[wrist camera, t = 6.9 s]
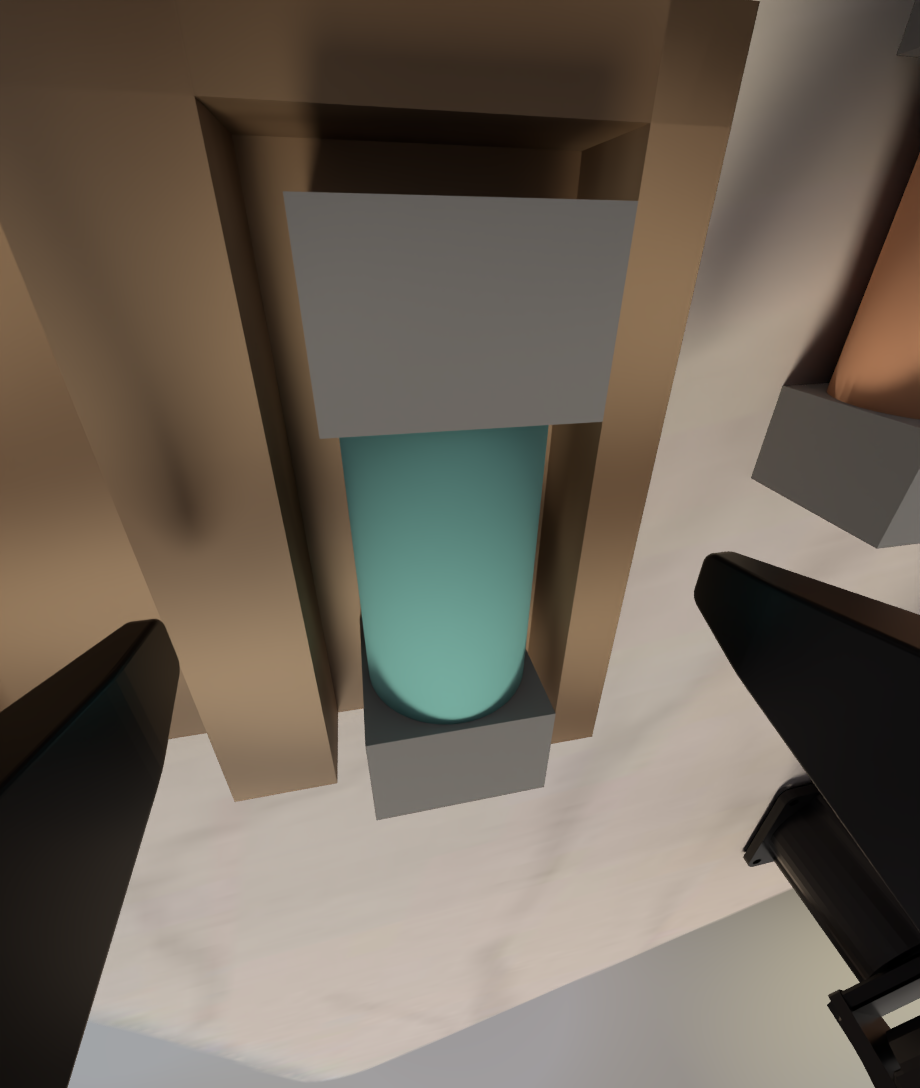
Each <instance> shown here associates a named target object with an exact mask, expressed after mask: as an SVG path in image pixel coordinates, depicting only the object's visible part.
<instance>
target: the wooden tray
mask: <svg viewBox="0 0 920 1088" xmlns="http://www.w3.org/2000/svg"><path fill="white" fill-rule="evenodd" d="M759 3H760V1H753V0H0V712H1V711H3V710H4V709H5V708H7V707H8V706H10V705H11V704H12V703H14V702H15V701H17V700H18V699H19V698H21V697H22V696H24V695H25V694H27V693H28V692H29V691H31V690H32V689H34V688H35V687H36V686H38V685H39V684H41V683H42V682H44V681H45V680H46V679H48V678H49V677H51V676H52V675H53V674H55V673H56V672H58V671H59V670H60V669H62V668H63V667H65V666H66V665H68V664H69V663H70V662H72V661H73V660H75V659H76V658H77V657H79V656H80V655H82V654H83V653H85V652H86V651H87V650H89V649H90V648H92V647H93V646H94V645H96V644H97V643H99V642H100V641H101V640H103V639H104V638H106V637H107V636H109V635H110V634H111V633H113V632H114V631H116V630H117V629H118V628H120V627H121V626H123V625H124V624H126V623H128V622H131V621H138V620H147V619H158V620H161V621H162V622H163V623H164V625H165V627H166V629H167V632H168V634H169V637H170V639H171V642H172V644H173V647H174V649H175V651H176V654H177V656H178V659H179V664H180V675H179V681H178V687H177V693H176V698H175V704H174V710H173V715H172V721H171V727H170V732H169V738H168V739H172V738H178V737H185V736H191V735H197V734H204V733H207V734H208V737H209V739H210V742H211V744H212V747H213V749H214V752H215V754H216V757H217V759H218V762H219V764H220V766H221V769H222V771H223V774H224V776H225V779H226V781H227V784H228V786H229V789H230V791H231V794H232V796H233V799H234V801H235V802H237V801H242V800H248V799H253V798H259V797H264V796H269V795H275V794H280V793H286V792H291V791H297V790H302V789H308V788H313V787H319V786H324V785H330V784H335V783H337V763H338V712H343V711H349V710H356V709H362V708H364V703H363V682H362V660H361V639H360V618H362V613H361V606H360V598H359V590H358V582H357V574H356V566H355V558H354V551H353V543H352V535H351V527H350V519H349V511H348V504H347V496H346V488H345V480H344V472H343V464H342V457H341V449H340V441H339V438H326V439H320V437H319V431H318V424H317V417H316V411H315V404H314V397H313V391H312V384H311V377H310V370H309V364H308V357H307V350H306V344H305V337H304V330H303V323H302V317H301V310H300V303H299V297H298V290H297V283H296V277H295V270H294V263H293V256H292V250H291V243H290V236H289V230H288V223H287V216H286V209H285V203H284V196H283V191H290V192H327V193H364V194H401V195H438V196H475V197H512V198H548V199H585V200H622V201H638V206H637V212H636V218H635V225H634V231H633V237H632V243H631V249H630V256H629V262H628V268H627V274H626V280H625V287H624V293H623V299H622V305H621V311H620V318H619V324H618V330H617V336H616V342H615V349H614V355H613V361H612V367H611V373H610V380H609V386H608V392H607V398H606V404H605V411H604V417H603V422H591V423H574V424H558V425H549V426H548V436H547V446H546V455H545V465H544V475H543V484H542V494H541V504H540V514H539V523H538V533H537V543H536V553H535V562H534V572H533V582H532V591H531V601H530V611H529V621H528V630H527V640H526V650H527V652H528V655H529V657H530V659H531V661H532V663H533V665H534V668H535V670H536V672H537V674H538V676H539V679H540V681H541V683H542V685H543V687H544V689H545V692H546V694H547V696H548V698H549V700H550V702H551V705H552V707H553V709H554V711H555V713H556V714H555V721H554V727H553V733H552V739H551V744H553V743H559V742H564V741H570V740H575V739H581V738H586V737H592V734H593V729H594V725H595V721H596V716H597V712H598V708H599V703H600V699H601V694H602V690H603V686H604V681H605V677H606V673H607V668H608V664H609V659H610V655H611V651H612V646H613V642H614V638H615V633H616V629H617V624H618V620H619V616H620V611H621V607H622V602H623V598H624V594H625V589H626V585H627V581H628V576H629V572H630V567H631V563H632V559H633V554H634V550H635V546H636V541H637V537H638V532H639V528H640V524H641V519H642V515H643V511H644V506H645V502H646V497H647V493H648V489H649V484H650V480H651V475H652V471H653V467H654V462H655V458H656V454H657V449H658V445H659V440H660V436H661V432H662V427H663V423H664V419H665V414H666V410H667V405H668V401H669V397H670V392H671V388H672V384H673V379H674V375H675V370H676V366H677V362H678V357H679V353H680V348H681V344H682V340H683V335H684V331H685V327H686V322H687V318H688V313H689V309H690V305H691V300H692V296H693V292H694V287H695V283H696V278H697V274H698V270H699V265H700V261H701V257H702V252H703V248H704V243H705V239H706V235H707V230H708V226H709V221H710V217H711V213H712V208H713V204H714V200H715V195H716V191H717V186H718V182H719V178H720V173H721V169H722V165H723V160H724V156H725V151H726V147H727V143H728V138H729V134H730V130H731V125H732V121H733V116H734V112H735V108H736V103H737V99H738V94H739V90H740V86H741V81H742V77H743V73H744V68H745V64H746V59H747V55H748V51H749V46H750V42H751V38H752V33H753V29H754V24H755V20H756V16H757V11H758V7H759Z"/></svg>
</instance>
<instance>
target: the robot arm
mask: <svg viewBox="0 0 920 1088" xmlns="http://www.w3.org/2000/svg"><path fill="white" fill-rule="evenodd" d="M694 599H695V602H696V605H697V606H698V608H699V610H700V612H701V613H702V615H703V617H704V619H705V620H706V622H707V624H708V626H709V627H710V629H711V631H712V633H713V634H714V636H715V638H716V639H717V641H718V643H719V645H720V646H721V648H722V650H723V652H724V653H725V655H726V657H727V659H728V660H729V662H730V664H731V665H732V667H733V669H734V670H735V672H736V674H737V675H738V677H739V678H740V680H741V681H742V683H743V684H744V686H745V687H746V688H747V690H748V691H749V693H750V694H751V695H752V697H753V698H754V700H755V701H756V702H757V704H758V705H759V707H760V708H761V710H762V711H763V712H764V714H765V715H766V717H767V718H768V719H769V721H770V722H771V724H772V725H773V726H774V728H775V729H776V731H777V732H778V733H779V735H780V736H781V738H782V739H783V741H784V742H785V743H786V745H787V746H788V748H789V749H790V750H791V752H792V753H793V755H794V756H795V757H796V759H797V760H798V762H799V763H800V764H801V766H802V767H803V769H804V770H805V771H806V773H807V774H808V776H809V777H810V779H811V780H812V781H813V783H814V784H811V785H807V786H802V787H797V788H793V789H789V790H787V791H785V792H783V793H782V794H781V795H780V796H779V798H778V799H777V801H776V803H775V804H774V806H773V808H772V809H771V811H770V813H769V814H768V816H767V818H766V819H765V821H764V823H763V824H762V826H761V828H760V829H759V831H758V833H757V834H756V836H755V838H754V839H753V841H752V843H751V844H750V846H749V848H748V849H747V851H746V853H745V855H744V857H743V858H744V859H745V861H746V863H747V864H748V866H750V867H753V866H757V865H761V864H765V863H769V862H773V861H774V862H775V863H776V864H777V866H778V867H779V869H780V870H781V871H782V873H783V874H784V876H785V877H786V879H787V880H788V881H789V883H790V884H791V886H792V887H793V888H794V890H795V891H796V893H797V894H798V896H799V897H800V898H801V900H802V901H803V903H804V904H805V905H806V907H807V908H808V910H809V911H810V913H811V914H812V915H813V917H814V918H815V920H816V921H817V922H818V924H819V925H820V927H821V928H822V930H823V931H824V932H825V934H826V935H827V936H828V938H829V939H830V941H831V942H832V944H833V945H834V946H835V948H836V949H837V951H838V952H839V954H840V955H841V956H842V958H843V959H844V961H845V962H846V963H847V965H848V966H849V968H850V969H851V971H852V972H853V973H854V974H855V976H856V978H857V979H858V981H859V982H860V983H858V984H856V985H854V986H853V987H850V988H848V989H846V990H844V991H842V990H837V991H835V992H833V993H831V994H829V995H828V996H829V998H830V1000H831V1002H830V1003H829V1004H828V1005H827V1006H828V1007H829V1009H830V1011H831V1012H832V1014H833V1015H834V1017H835V1019H836V1020H837V1022H838V1023H839V1025H840V1026H841V1028H842V1029H843V1031H844V1032H845V1034H846V1036H847V1037H848V1039H849V1041H850V1042H851V1043H852V1045H853V1047H854V1049H855V1050H856V1052H857V1054H858V1056H859V1057H860V1059H861V1061H862V1063H863V1065H864V1067H865V1069H866V1071H867V1072H868V1075H869V1076H870V1079H871V1081H872V1083H873V1085H874V1087H875V1088H920V1016H917V1017H915V1018H913V1019H911V1020H909V1021H907V1022H905V1023H902V1024H900V1025H898V1026H896V1027H894V1028H892V1029H890V1027H889V1026H888V1025H887V1023H886V1022H885V1021H884V1019H883V1018H882V1016H884V1015H886V1014H888V1013H890V1012H892V1011H894V1010H896V1009H898V1008H900V1007H902V1006H904V1005H906V1004H909V1003H911V1002H913V1001H915V1000H917V999H919V998H920V615H918V614H915V613H912V612H909V611H906V610H904V609H901V608H898V607H895V606H892V605H889V604H886V603H883V602H880V601H877V600H874V599H871V598H868V597H865V596H862V595H859V594H856V593H853V592H850V591H847V590H844V589H841V588H838V587H836V586H833V585H830V584H827V583H824V582H821V581H818V580H815V579H812V578H809V577H806V576H803V575H800V574H797V573H794V572H791V571H788V570H785V569H782V568H779V567H776V566H773V565H771V564H768V563H765V562H762V561H759V560H756V559H753V558H750V557H747V556H744V555H741V554H738V553H735V552H729V551H728V552H719V553H712V554H709V555H708V556H707V557H706V558H705V559H704V561H703V564H702V567H701V571H700V574H699V577H698V580H697V583H696V586H695V590H694ZM179 675H180V664H179V659H178V656H177V654H176V651H175V649H174V647H173V644H172V642H171V639H170V637H169V634H168V632H167V629H166V627H165V625H164V623H163V622H162V621H161V620H158V619H147V620H138V621H131V622H128V623H126V624H124V625H123V626H121V627H120V628H118V629H117V630H116V631H114V632H113V633H111V634H110V635H109V636H107V637H106V638H104V639H103V640H101V641H100V642H99V643H97V644H96V645H94V646H93V647H92V648H90V649H89V650H87V651H86V652H85V653H83V654H82V655H80V656H79V657H77V658H76V659H75V660H73V661H72V662H70V663H69V664H68V665H66V666H65V667H63V668H62V669H60V670H59V671H58V672H56V673H55V674H53V675H52V676H51V677H49V678H48V679H46V680H45V681H44V682H42V683H41V684H39V685H38V686H36V687H35V688H34V689H32V690H31V691H29V692H28V693H27V694H25V695H24V696H22V697H21V698H19V699H18V700H17V701H15V702H14V703H12V704H11V705H10V706H8V707H7V708H5V709H4V710H3V711H1V712H0V1088H67V1087H68V1084H69V1081H70V1077H71V1074H72V1071H73V1067H74V1064H75V1061H76V1057H77V1054H78V1051H79V1047H80V1044H81V1041H82V1038H83V1034H84V1031H85V1027H86V1024H87V1021H88V1018H89V1014H90V1011H91V1008H92V1004H93V1001H94V998H95V994H96V991H97V988H98V984H99V981H100V978H101V974H102V971H103V968H104V964H105V961H106V958H107V954H108V951H109V948H110V944H111V941H112V938H113V935H114V931H115V928H116V925H117V921H118V918H119V915H120V911H121V908H122V905H123V901H124V898H125V895H126V891H127V888H128V885H129V881H130V878H131V875H132V871H133V868H134V865H135V861H136V858H137V855H138V851H139V848H140V845H141V841H142V838H143V835H144V831H145V828H146V825H147V822H148V818H149V815H150V812H151V808H152V805H153V802H154V798H155V795H156V792H157V788H158V785H159V781H160V777H161V774H162V770H163V765H164V760H165V755H166V750H167V744H168V738H169V732H170V727H171V721H172V715H173V710H174V704H175V698H176V693H177V687H178V681H179Z"/></svg>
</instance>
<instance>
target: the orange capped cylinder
mask: <svg viewBox="0 0 920 1088" xmlns="http://www.w3.org/2000/svg"><path fill="white" fill-rule="evenodd" d="M897 55H899V56H909V57H920V0H915V3H914V6H913V9H912V12H911V14H910V17H909V20H908V23H907V26H906V29H905V32H904V35H903V38H902V41H901V43H900V46H899V49H898V52H897ZM751 478H752V479H753V480H755V481H757V482H759V483H761V484H762V485H764V486H766V487H768V488H770V489H771V490H773V491H775V492H777V493H778V494H780V495H782V496H784V497H786V498H787V499H789V500H791V501H793V502H795V503H796V504H798V505H800V506H802V507H803V508H805V509H807V510H809V511H811V512H812V513H814V514H816V515H818V516H820V517H821V518H823V519H825V520H827V521H828V522H830V523H832V524H834V525H836V526H837V527H839V528H841V529H843V530H844V531H846V532H848V533H850V534H852V535H853V536H855V537H857V538H859V539H861V540H862V541H864V542H866V543H868V544H869V545H871V546H873V547H875V548H877V549H878V548H886V547H894V546H902V545H910V544H918V543H920V154H919V156H918V159H917V161H916V164H915V166H914V169H913V171H912V174H911V176H910V179H909V182H908V184H907V187H906V189H905V192H904V194H903V197H902V199H901V202H900V205H899V207H898V210H897V212H896V215H895V217H894V220H893V222H892V225H891V228H890V230H889V233H888V235H887V238H886V240H885V243H884V245H883V248H882V250H881V253H880V256H879V258H878V261H877V263H876V266H875V268H874V271H873V273H872V276H871V279H870V281H869V284H868V286H867V289H866V291H865V294H864V296H863V299H862V302H861V304H860V307H859V309H858V312H857V314H856V317H855V319H854V322H853V324H852V327H851V330H850V332H849V335H848V337H847V340H846V342H845V345H844V347H843V350H842V353H841V355H840V358H839V360H838V363H837V365H836V368H835V370H834V373H833V375H832V378H831V381H830V383H827V384H806V385H786V386H782V389H781V392H780V395H779V398H778V401H777V404H776V407H775V410H774V413H773V415H772V418H771V421H770V424H769V427H768V430H767V433H766V436H765V439H764V442H763V444H762V447H761V450H760V453H759V456H758V459H757V462H756V465H755V468H754V471H753V474H752V476H751Z"/></svg>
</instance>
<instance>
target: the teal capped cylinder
mask: <svg viewBox="0 0 920 1088" xmlns="http://www.w3.org/2000/svg"><path fill="white" fill-rule="evenodd" d="M283 196H284V203H285V209H286V216H287V223H288V230H289V236H290V243H291V250H292V256H293V263H294V270H295V277H296V283H297V290H298V297H299V303H300V310H301V317H302V323H303V330H304V337H305V344H306V350H307V357H308V364H309V370H310V377H311V384H312V391H313V397H314V404H315V411H316V417H317V424H318V431H319V437H320V439H326V438H339V441H340V449H341V457H342V464H343V472H344V480H345V488H346V496H347V504H348V511H349V519H350V527H351V535H352V543H353V551H354V558H355V566H356V574H357V582H358V590H359V598H360V606H361V613H362V618H360V639H361V660H362V682H363V703H364V724H365V745H366V753H367V759H368V766H369V773H370V779H371V786H372V793H373V800H374V806H375V813H376V820H381V819H386V818H391V817H396V816H401V815H406V814H411V813H416V812H421V811H426V810H431V809H436V808H441V807H446V806H451V805H456V804H461V803H466V802H471V801H476V800H481V799H486V798H491V797H496V796H501V795H506V794H511V793H516V792H521V791H526V790H531V789H536V788H541V787H544V783H545V776H546V770H547V764H548V758H549V752H550V745H551V739H552V733H553V727H554V721H555V714H556V713H555V711H554V709H553V707H552V705H551V702H550V700H549V698H548V696H547V694H546V692H545V689H544V687H543V685H542V683H541V681H540V679H539V676H538V674H537V672H536V670H535V668H534V665H533V663H532V661H531V659H530V657H529V655H528V652H527V650H526V640H527V630H528V621H529V611H530V601H531V591H532V582H533V572H534V562H535V553H536V543H537V533H538V523H539V514H540V504H541V494H542V484H543V475H544V465H545V455H546V446H547V436H548V426H549V425H558V424H574V423H591V422H603V417H604V411H605V404H606V398H607V392H608V386H609V380H610V373H611V367H612V361H613V355H614V349H615V342H616V336H617V330H618V324H619V318H620V311H621V305H622V299H623V293H624V287H625V280H626V274H627V268H628V262H629V256H630V249H631V243H632V237H633V231H634V225H635V218H636V212H637V206H638V201H622V200H585V199H548V198H512V197H475V196H438V195H401V194H364V193H327V192H290V191H283Z"/></svg>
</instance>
